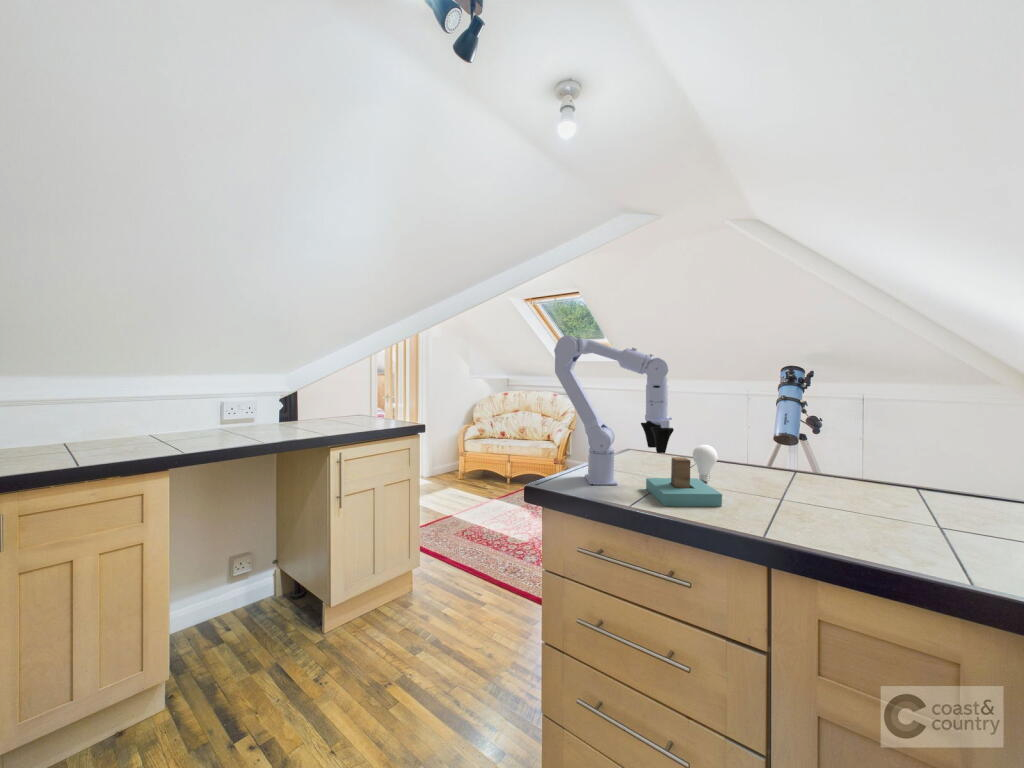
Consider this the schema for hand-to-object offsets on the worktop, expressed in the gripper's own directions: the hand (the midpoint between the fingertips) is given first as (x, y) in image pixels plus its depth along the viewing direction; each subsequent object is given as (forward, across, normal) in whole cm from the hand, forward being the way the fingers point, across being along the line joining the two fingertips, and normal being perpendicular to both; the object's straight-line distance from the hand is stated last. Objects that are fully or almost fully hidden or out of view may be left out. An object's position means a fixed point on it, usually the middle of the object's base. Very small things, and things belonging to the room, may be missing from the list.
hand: (656, 450), depth 117 cm
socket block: (+10, -9, -4) cm, 14 cm away
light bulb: (+11, +5, -16) cm, 20 cm away
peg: (+10, -9, -3) cm, 14 cm away
